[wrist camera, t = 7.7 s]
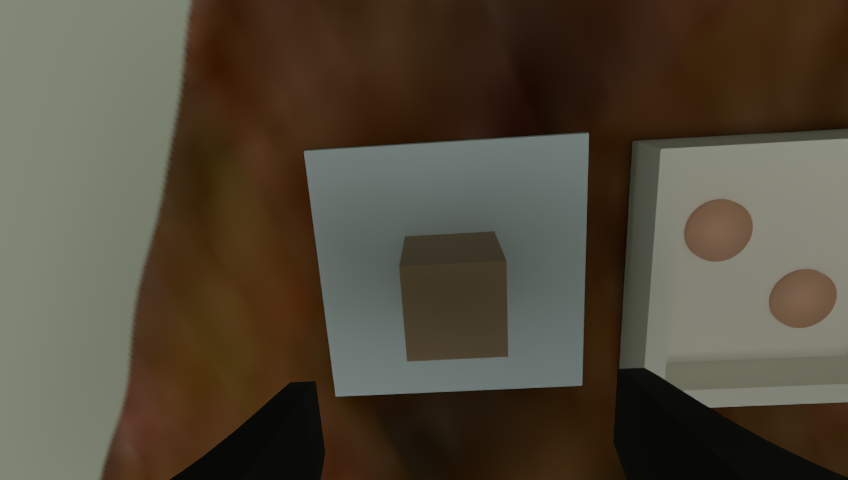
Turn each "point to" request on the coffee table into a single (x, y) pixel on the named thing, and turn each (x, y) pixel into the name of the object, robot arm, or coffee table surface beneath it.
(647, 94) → the coffee table surface
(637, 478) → the robot arm
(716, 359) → the box
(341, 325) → the lid
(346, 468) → the coffee table surface
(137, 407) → the coffee table surface
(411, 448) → the coffee table surface
